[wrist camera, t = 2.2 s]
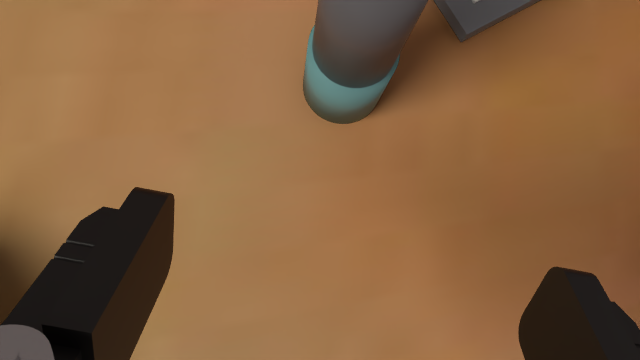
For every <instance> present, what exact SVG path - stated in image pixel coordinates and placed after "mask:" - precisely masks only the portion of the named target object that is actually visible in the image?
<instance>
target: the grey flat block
mask: <svg viewBox="0 0 640 360" xmlns="http://www.w3.org/2000/svg"><path fill="white" fill-rule="evenodd" d="M538 1H540V0H434V2H435V3H436V5H437V6H438V8H439V9H440V11H441V12H442V14H443V15H444V17H445V18H446V20H447V22H448V23H449V25H450V26H451V28H452V29H453V31H454V32H455V34H456V35H457V37H458V38H459V40H460V41H461V42H462V41H464V40H466V39H468V38H470V37H472V36H474V35H476V34H478V33H480V32H481V31H483V30H485V29H487V28H489V27H491V26H493V25H495V24H497V23H499V22H500V21H502V20H504V19H506V18H508V17H510V16H512V15H514V14H516V13H518V12H519V11H521V10H523V9H525V8H527V7H529V6H531V5H533V4H535V3H536V2H538Z"/></svg>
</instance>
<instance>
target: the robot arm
mask: <svg viewBox="0 0 640 360" xmlns="http://www.w3.org/2000/svg"><path fill="white" fill-rule="evenodd" d="M173 232H174V196H173V194H171V193H165V192H160V191H155V190H149V189H144V188H139V187H135V188H134V189H133V190H132V191H131V192H130V194H129V195H128V197H127V198H126V200H125V201H124V203H123V204H122V206H121V207H120V209H113V208H108V207H102V208H100V209H99V210H97V211H96V212H94V213H92V214H91V215H89V216H87V217H86V218H84V219H83V220H81V221H80V222H79V224H78V225H77V226H76V228H75V229H74V230H73V232H72V233H71V234H70V235H69V237H68V238H67V241H66V243H63V245H62V246H61V247H60V249H59V250H58V251H57V253H56V254H55V257H54V259H51V260H50V262H49V263H48V264H47V266H46V267H45V268H44V270H43V271H42V272H41V274H40V275H39V276H38V278H37V279H36V280H35V282H34V283H33V284H32V285H31V287H30V288H29V289H28V291H27V292H26V293H25V295H24V296H23V297H22V299H21V300H20V301H19V303H18V304H17V305H16V307H15V308H14V309H13V310H12V312H11V313H10V314H9V316H8V317H7V318H6V320H5V321H4V322H3V323H2V324H1V325H0V360H130V357H131V355H132V353H133V351H134V349H135V346H136V344H137V342H138V340H139V338H140V335H141V333H142V331H143V329H144V327H145V324H146V322H147V320H148V318H149V316H150V313H151V311H152V309H153V307H154V305H155V302H156V300H157V298H158V296H159V294H160V291H161V289H162V287H163V285H164V283H165V280H166V278H167V275H168V272H169V269H170V265H171V260H172V254H173ZM519 342H520V346H521V349H522V352H523V355H524V358H525V360H640V330H639V328H638V326H637V325H636V323H635V322H634V321H633V320H632V319H631V318H630V317H629V316H628V315H627V314H626V313H625V312H624V311H623V310H622V309H621V308H620V307H619V306H618V305H617V304H616V303H615V302H611V301H610V300H609V298H608V296H607V294H606V293H605V291H604V289H603V287H602V285H601V284H600V282H599V280H598V279H597V277H596V276H595V275H594V274H592V273H588V272H583V271H577V270H572V269H566V268H561V267H553V268H551V269H550V270H549V271H548V272H547V274H546V275H545V277H544V279H543V281H542V282H541V284H540V286H539V287H538V289H537V291H536V292H535V294H534V296H533V297H532V299H531V301H530V302H529V304H528V306H527V307H526V309H525V311H524V313H523V314H522V317H521V319H520V324H519Z"/></svg>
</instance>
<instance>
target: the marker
mask: <svg viewBox="0 0 640 360" xmlns="http://www.w3.org/2000/svg"><path fill="white" fill-rule="evenodd" d="M427 2H428V0H318V7H317V14H316V21H315V25H314V27H313V29H312V30H311V33H310V36H309V41H308V48H307V56H306V64H305V71H304V79H303V91H304V96H305V99H306V101H307V103H308V105H309V106H310V108H311V109H312V110H313V111H314V112H315V113H316V114H317V115H318V116H320V117H321V118H323V119H325V120H327V121H330V122H333V123H339V124H348V123H353V122H356V121H359V120H361V119H363V118H364V117H366V116H367V115H368V114H369V113H370V112H371V111H372V110H373V109H374V107H375V106H376V104H377V102H378V100H379V99H380V97H381V95H382V93H383V91H384V90H385V88H386V86H387V84H388V83H389V81H390V79H391V77H392V75H393V74H394V72H395V70H396V68H397V65H398V62H399V58H400V52H401V50H402V48H403V46H404V45H405V43H406V41H407V39H408V37H409V35H410V33H411V31H412V30H413V28H414V26H415V24H416V22H417V20H418V18H419V16H420V15H421V13H422V11H423V9H424V7H425V5H426V3H427Z"/></svg>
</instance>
